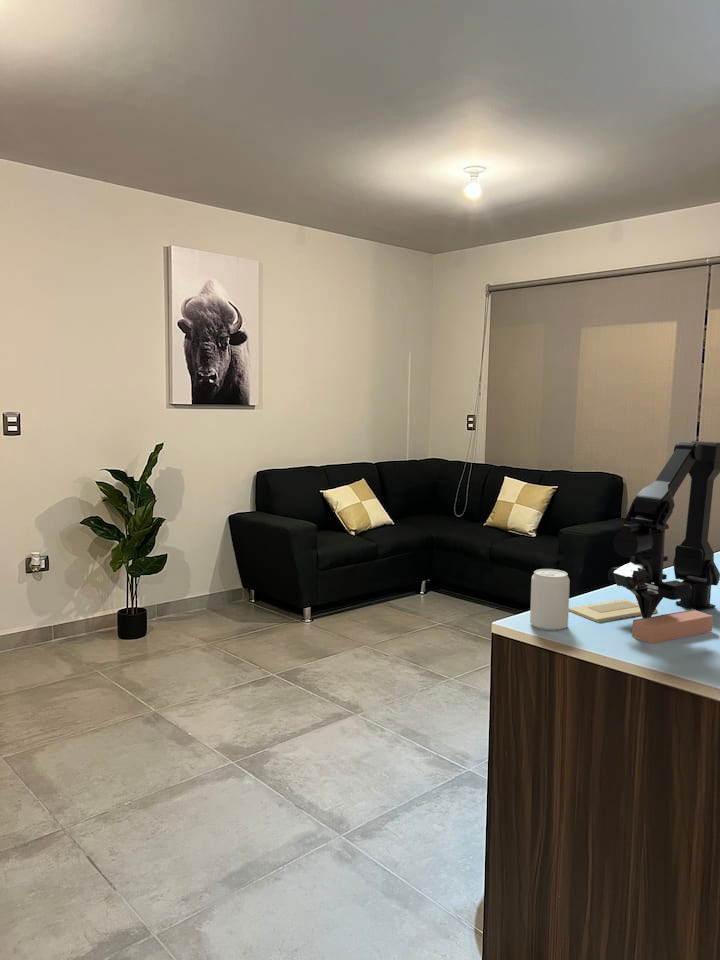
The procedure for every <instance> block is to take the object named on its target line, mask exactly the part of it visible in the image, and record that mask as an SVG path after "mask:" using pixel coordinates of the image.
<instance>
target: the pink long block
mask: <svg viewBox="0 0 720 960" xmlns="http://www.w3.org/2000/svg"><path fill="white" fill-rule="evenodd" d="M713 617H714V616H713V615H711V614H709V613H705V612H702V611H700V610H695V609H688V610H682V611H676V612H670V613H664V614H659V615H654V616H653V615H652V616H651V617H647V618H643V617H642V618H637V619H632V632H631V637H634V638H635V637H636V638H635V639H638V638H639V639H638V640H640V641H643V642H645V643H648V644H651V645H652V644H655V643H661V642H665V641H671V640H677V639H682V638H686V636H687V637H692V636H696V634H697V635H702V634H707V633H711V632H710V631H712V632H713V621H714V620H713V619H714V618H713ZM706 632H707V633H706ZM701 633H702V634H701ZM676 638H677V639H676Z"/></svg>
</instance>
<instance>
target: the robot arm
mask: <svg viewBox="0 0 720 960" xmlns="http://www.w3.org/2000/svg"><path fill="white" fill-rule="evenodd" d="M688 474H689V477H690V488H689V496H688V497H689V499H688V509H687V519H686V528H685V529H686V530H685V538H684V540H683V541H682V542H681V544H679V545H676V546H675V549H674V550H675V552H674V558H673V563H672V564H673V571H674V577H675V578H674V579H675V580H670V581H665V580H667V576H668V575H667V574H665V573H664V572H663V571H664V562H668V559H669V558H668V557H669V556H667V555H664V554H665V540H666V539H665V536H666V530H669V528H670V526H669V524H668V523H667V522H668V520H669V519H670V517H671V516H672V514H673V512H674V508H675V504H676V503H675V501H674V497H675V496H676V493H677V491H678V490H679V488H680V486H681V485H682V484H683V482H684V480H685V479H686V477H687V475H688ZM718 475H720V442H718V441H717V442H715V441H699V440H694V441H691V442H681V441H680V442H678V443H676V444H675V445H674V448H673V452H672V454H671V456H670V457H669V459H668V460H667V461H666V464H665V465H664V466H663V468H662V470H661V471H660V473H659V474H658V475H657V477H656V479H655V480H654V481H653V483H651V484H649V485H647V486H645V487H643V488H642V489H641V490H640V491H639V492H638V493H637V494H636V496H635V497H634V499H633V500H632V502H631V504H630V507H629V509H628V512H627V514H626V516H625V518H624V521H623V525H622V526H621V527H622V529H621V531H618V532H617V533H616V534H615V535H614V538H613V541H612V547H613V549H614V550H615V552H616V553H617V554H618V555H619V556H620V557H622V558H625V559H626V558H628V559H629V558H630V559H629V562H628V563H626V564H624V565H622V566H615V567H610V569H609V570H608V572H607V573H608V574H607V581H611V582H614V583H616V586H618V587H622V588H625V589H627V590H629V591H630V592H631V594H633V595H634V597H635V599H636V601H637V603H638V604H639V608H640V611H641V614H642V615H641V617H642V618H647V617H653V614H655V613H654V611H655V609H657V607H658V606H659V605H660V603H661V601H662V600H663V599H667V600H669V601H670V600H671V601H672V600H673V601H675V604H676V605H679V606H682V607H685V608H687V609H689V610H693V609H695V610H696V611H703V610H708V609H713V608H714V609H715V608H716V605H715V604H712V603H711V596H712V595H711V594H712V593H711V592H712V590H711V589H712V586H718V584H719V583H720V582H719V581H720V571H719V569H718V567H717V565H716V563H715V561H714V560H715V559H714V558H715V557H714V555H715V553H714V551H713V549H712V547H711V544H710V543H709V540H708V539H709V530H710V523H711V522H710V521H711V512H712V501H713V493H714V492H713V490H714V484H715V483H714V482H715V480H716V478H717V477H718ZM679 580H680V581H679ZM676 600H677V601H676Z"/></svg>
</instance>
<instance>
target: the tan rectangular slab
mask: <svg viewBox="0 0 720 960" xmlns="http://www.w3.org/2000/svg"><path fill="white" fill-rule="evenodd" d="M568 612H571V613H573V614H576V615H578V616H580V617H583V618H585V619H588V620H590V619H591V621H593V622H595V621H596V622H595V623H598V622H600V623H605V622H604V621H606V622H609V621H608V620H612V621H615V620H614V619H617V620H621V619H620V618H623V619H627V618H626V617H629V618H633V617H632V616H635V617H639V615H641V616H642V614H641V611H640V608H639V604H638V602H635V601H632V600H630V599H626V598H625V599H624V598H623V599H616V600H612V601H604V602H598V603H592V604H585V605H578V606H572V607H569V611H568ZM657 613H658V609H657V608H656V609H655V611H654V613H653V614H657Z"/></svg>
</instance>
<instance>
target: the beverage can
mask: <svg viewBox="0 0 720 960" xmlns="http://www.w3.org/2000/svg"><path fill="white" fill-rule="evenodd" d="M568 575H569V574H568V572H566V571H564V570H560V569H554V568H539V569H536V570H534V571H533V574H532V576H531V582H530V584H531V585H530V609H529V610H530V615H529V616H530V617H529V622H530V624H531V625H532V626H534V627H535V628H538V629H540V630H543V629H544V631H559V630H562V629H566V628H567V627H568V625H569V612H570V611H569V608H570V604H569V603H570V585H571V584H570V581H571V580H570V578H569V576H568Z"/></svg>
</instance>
